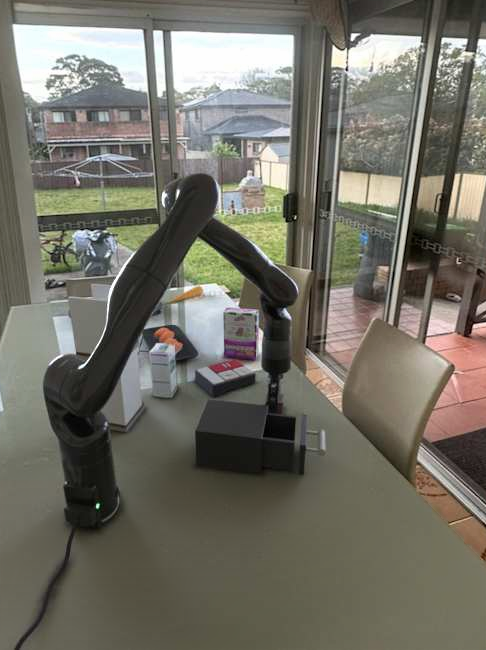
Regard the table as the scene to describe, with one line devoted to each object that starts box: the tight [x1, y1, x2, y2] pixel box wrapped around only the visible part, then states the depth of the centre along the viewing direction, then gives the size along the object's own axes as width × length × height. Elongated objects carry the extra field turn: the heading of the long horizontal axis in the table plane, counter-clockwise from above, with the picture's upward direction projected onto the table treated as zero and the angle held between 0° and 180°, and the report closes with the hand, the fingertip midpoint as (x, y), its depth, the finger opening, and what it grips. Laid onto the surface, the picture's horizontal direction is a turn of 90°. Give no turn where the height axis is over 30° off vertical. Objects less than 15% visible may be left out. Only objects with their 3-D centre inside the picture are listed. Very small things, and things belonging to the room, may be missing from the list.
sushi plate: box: [138, 324, 199, 362], centre depth 153 cm, size 29×30×4 cm
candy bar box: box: [223, 307, 260, 361], centre depth 146 cm, size 11×5×16 cm, turn 76°
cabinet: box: [194, 399, 268, 476], centre depth 102 cm, size 15×13×10 cm
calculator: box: [194, 358, 257, 398], centre depth 132 cm, size 11×4×15 cm
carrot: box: [166, 285, 204, 304], centre depth 202 cm, size 20×4×4 cm, turn 130°
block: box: [264, 392, 285, 415], centre depth 117 cm, size 4×4×4 cm
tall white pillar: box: [67, 283, 145, 433], centre depth 110 cm, size 11×11×35 cm
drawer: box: [261, 413, 327, 476], centre depth 99 cm, size 18×11×8 cm, turn 78°
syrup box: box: [148, 343, 178, 399], centre depth 125 cm, size 6×6×14 cm
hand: (274, 405), depth 118 cm, fingers open, 8 cm apart
